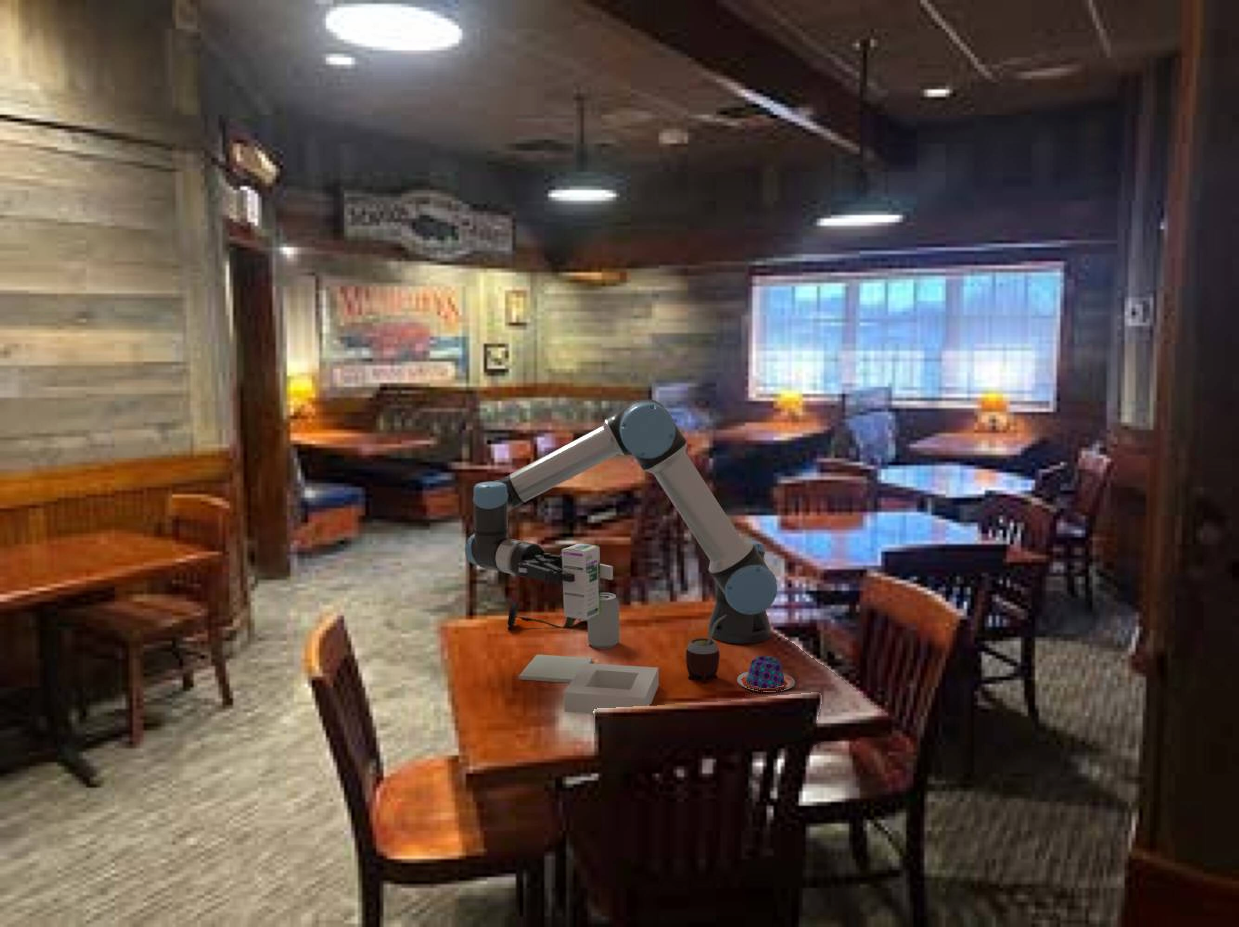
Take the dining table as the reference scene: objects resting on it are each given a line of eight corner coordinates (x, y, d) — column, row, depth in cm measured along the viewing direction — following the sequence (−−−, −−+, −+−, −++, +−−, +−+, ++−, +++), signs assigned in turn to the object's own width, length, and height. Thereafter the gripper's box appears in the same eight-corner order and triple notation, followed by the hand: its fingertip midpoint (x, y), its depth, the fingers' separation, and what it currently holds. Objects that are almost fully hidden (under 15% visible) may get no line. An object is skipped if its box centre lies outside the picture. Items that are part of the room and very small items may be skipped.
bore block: (658, 686, 187) (658, 667, 187) (644, 717, 172) (644, 697, 171) (584, 680, 190) (583, 662, 190) (564, 711, 175) (563, 692, 174)
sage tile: (592, 661, 202) (592, 657, 202) (577, 683, 189) (577, 679, 189) (536, 657, 204) (536, 654, 204) (518, 679, 192) (518, 675, 192)
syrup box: (586, 621, 181) (585, 551, 179) (562, 616, 184) (561, 547, 182) (601, 613, 186) (600, 545, 184) (577, 609, 189) (577, 542, 187)
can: (620, 639, 216) (620, 591, 214) (617, 650, 209) (617, 600, 207) (590, 638, 217) (589, 590, 215) (585, 649, 210) (585, 599, 208)
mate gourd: (683, 672, 194) (683, 605, 192) (719, 671, 195) (719, 604, 193) (689, 685, 187) (689, 616, 185) (726, 684, 188) (727, 615, 186)
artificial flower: (509, 627, 231) (514, 588, 232) (596, 637, 230) (601, 598, 231) (504, 628, 222) (509, 588, 223) (594, 639, 221) (599, 599, 223)
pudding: (806, 683, 189) (806, 659, 188) (773, 700, 180) (773, 675, 179) (758, 668, 197) (759, 646, 196) (725, 684, 188) (725, 660, 188)
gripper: (553, 566, 204) (631, 584, 189) (488, 584, 189) (566, 605, 174) (552, 534, 203) (630, 549, 188) (487, 550, 188) (566, 568, 173)
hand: (599, 576), depth 181 cm, fingers closed on syrup box, 6 cm apart
